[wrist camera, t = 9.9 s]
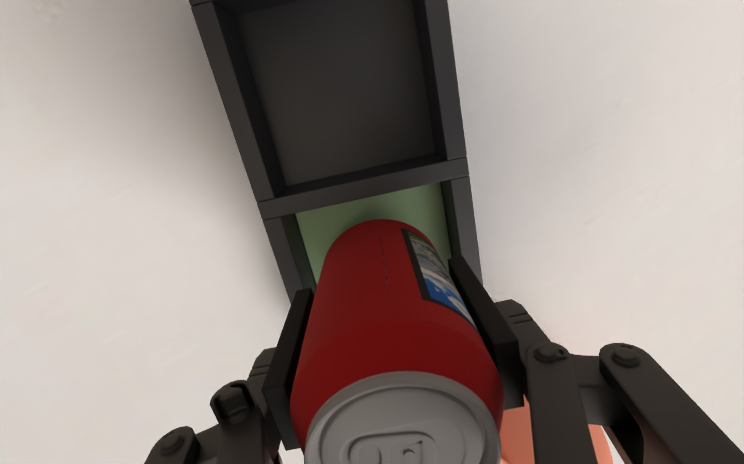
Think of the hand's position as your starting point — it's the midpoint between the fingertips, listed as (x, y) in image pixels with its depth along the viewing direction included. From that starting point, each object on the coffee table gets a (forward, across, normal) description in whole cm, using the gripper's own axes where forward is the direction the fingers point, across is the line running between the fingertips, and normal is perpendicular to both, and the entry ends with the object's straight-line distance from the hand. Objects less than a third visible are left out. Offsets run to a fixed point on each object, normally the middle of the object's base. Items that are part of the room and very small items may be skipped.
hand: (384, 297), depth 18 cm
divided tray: (+6, 0, +5) cm, 8 cm away
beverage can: (+4, 0, 0) cm, 4 cm away
